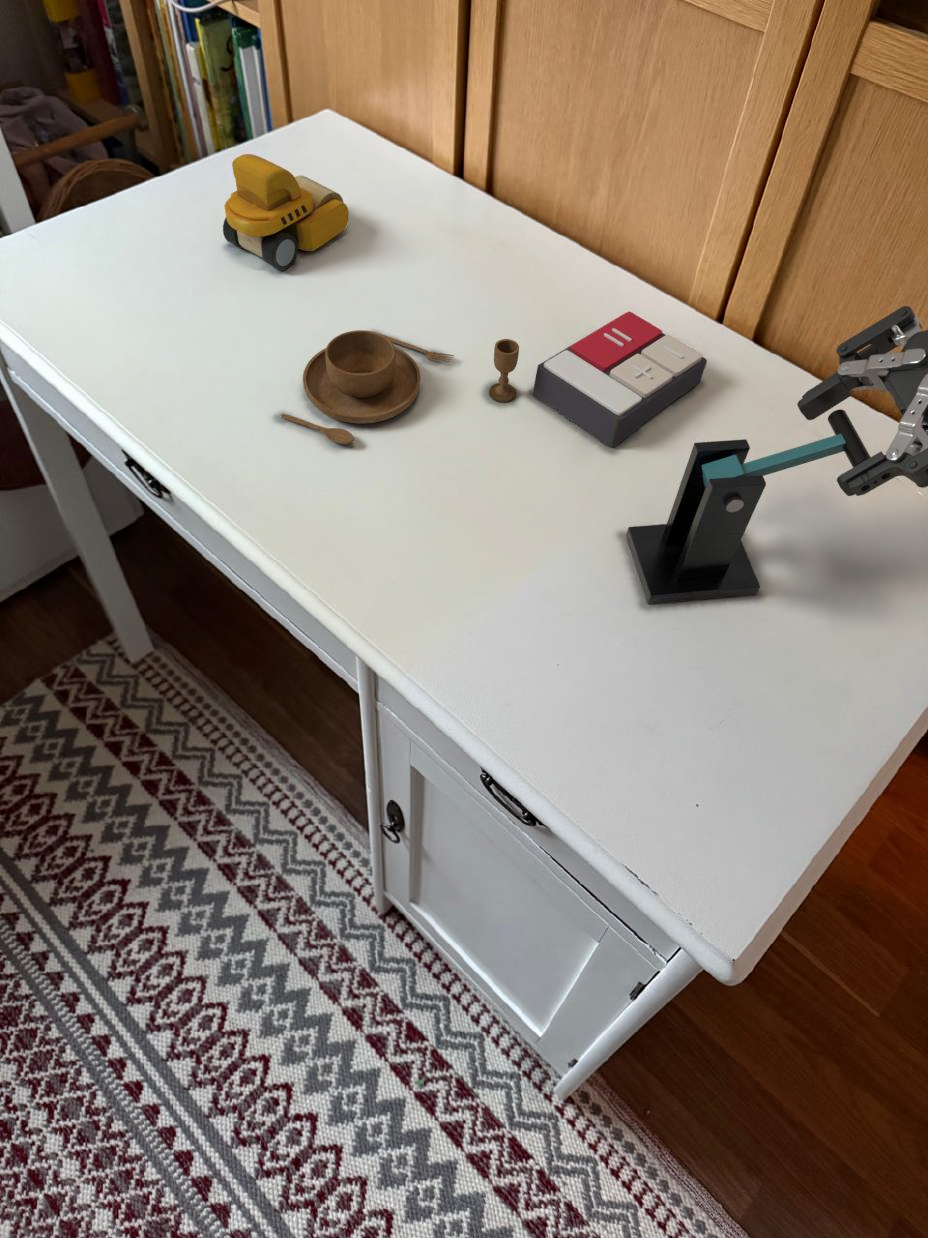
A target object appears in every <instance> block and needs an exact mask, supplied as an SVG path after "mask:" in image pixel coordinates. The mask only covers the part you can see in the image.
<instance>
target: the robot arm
mask: <svg viewBox="0 0 928 1238" xmlns="http://www.w3.org/2000/svg"><path fill="white" fill-rule="evenodd" d="M898 347H902V348H901V350H900V352H899V351H898V352H891V351H893V350H895V349H896V348H898ZM835 351H836V354H837V356H838V357H839V358H838V361H839V362H838V363H839V365H838V367H837V370H836V371H835V373H833V374H831V376H828V377H827V378H825V379H824V380H822V381H820V382H819V383H818V384H816V385H815V386H813V387H812V388H810V389H808V390H807V391H806V392H805V393H804V394H803V395H802V396H801V399H799V400H798V402H796V404H797V405H796V406H797V408H798V410H799V411H800V413H801V414H802V416H804V418H805V419H806V420H807V421H813V420H815V419H818V417H820V416H822V415H823V414H825V413H826V412H828V411H829V410H831V409H833V408H834V407H836V406H837V405H839V404H841V403H842V402H844V401H845V400H847V399H849V398H850V397H852V393H851V391H867V390H876V391H878V392H881V393H884V392H885V393H889V395H890V396H891V398H892V400H893V401H894V403H895V406H896V407H897V409H898V411H899V412H900V413H901V415H902V417H901V419H900V420H899V422H898V426H897V427H898V428H897V429H898V430H897V432H896V434H895V436H894V438H893V440H892V441H891V443H890V445H889V446H888V448H887V450H886V452H885V454H884V452H883V451H879V452H877V453H876V454H873V455H872V456H870V458H869V459H867V460H865V461H864V462H862V463H860V464H859V465H857V466H855V467H852V468H850V469H848V470H847V471H845V472H843V473H841V474H840V475H839V476H837V478H836V482H837V484H838V486H839V488H840V489H841V490H842V492H843V493H844V494H845V495H846V496H847V497H853V496H856V497H859V496H863V495H866V494H868V493H869V492H871V491H873V490H875V489H876V488H878V487H880V486H882V485H884V484H886V483H887V482H889V481H891V480H893V479H894V478H897V477H905V478H907V479H909V480H910V481H911V482H913V483H914V484H915V485H916V487H918V488H921V489H925V488H927V487H928V329H925V330H923V326H922V324H921V323H920V319H919V318H918V317H917V315H916V313H915V312H914V310H913V309H912V307H910V306H908V305H903V306H901V307H900V308H898V309H896V310H894V311H893V312H890V314H888V315H886V316H884V317H883V318H881V319H879V320H878V321H877V322H875V323H873V324H871V325H870V326H868V327H867V328H865V329H863V330H862V331H859V332H858V333H856V334H855V335H853V336H852V337H849V338H848V339H847V340H845V341H843V342H842V343H840V344H839V345H838V346H837V348H836V350H835ZM889 352H890V353H889Z"/></svg>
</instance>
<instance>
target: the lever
mask: <svg viewBox="0 0 928 1238" xmlns="http://www.w3.org/2000/svg"><path fill="white" fill-rule="evenodd" d="M827 422H828V424H829V425H830V427H831V429H832V431H833V433H834V435H832V436H828V437H825V438H822V439H818V440H815V441H812V442H810V443H806V444H802V445H799V446H795V447H793V448H790V449H787V450H783V451H780V452H776V453H773V454H770V455H766V456H764V457H761V458H757V459H753V460H750V461H747V462H744V464H741V465H740V463H739V460H738V458H737V456H736V455H732V456H729V457H726V458H723V459H720V460H716V461H713V462H710V463H707V464H703V465H702V473H703V481H704V485H705V488H706V486H707V484H708V481H709V479H715V478H729V477H743V476H757V475H762V476H763V477H765V476H767V475H772V474H774V473H778V472H782V471H784V470H788V469H791V468H795V467H798V466H801V465H803V464H808V463H811V462H813V461H817V460H820V459H824V458H827V457H831V456H833V455H837V454H840V453H843V452H844V454H845V455H846V457H847V460H848V461H849V463H850V465H851V467H852V468H853V467H855V466H857V465H859V464H860V463H862V462H864V461H865V460H867V459H869V458H870V457H871V455H870V453H869V452H868V450H867V448H866V446H865V445H864V442H863V441H862V438H861V437H860V435H859V433H858V432H857V430H856V428H855V426H854V425H853V422H852V421H851V419H850V417H849V415H848V413H847V411H845V410H844V409H836V410H833V411H832V412H831V413H829V415H828V417H827Z"/></svg>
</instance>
